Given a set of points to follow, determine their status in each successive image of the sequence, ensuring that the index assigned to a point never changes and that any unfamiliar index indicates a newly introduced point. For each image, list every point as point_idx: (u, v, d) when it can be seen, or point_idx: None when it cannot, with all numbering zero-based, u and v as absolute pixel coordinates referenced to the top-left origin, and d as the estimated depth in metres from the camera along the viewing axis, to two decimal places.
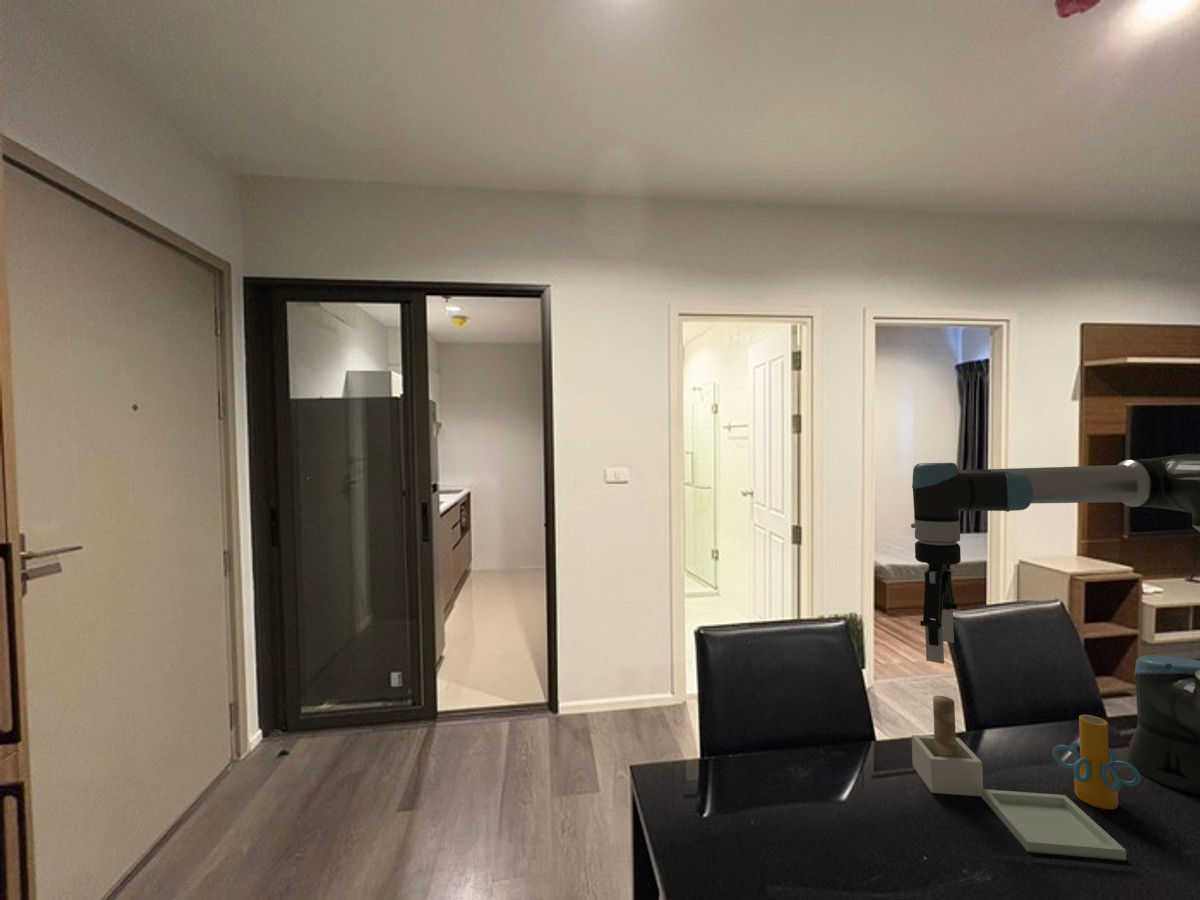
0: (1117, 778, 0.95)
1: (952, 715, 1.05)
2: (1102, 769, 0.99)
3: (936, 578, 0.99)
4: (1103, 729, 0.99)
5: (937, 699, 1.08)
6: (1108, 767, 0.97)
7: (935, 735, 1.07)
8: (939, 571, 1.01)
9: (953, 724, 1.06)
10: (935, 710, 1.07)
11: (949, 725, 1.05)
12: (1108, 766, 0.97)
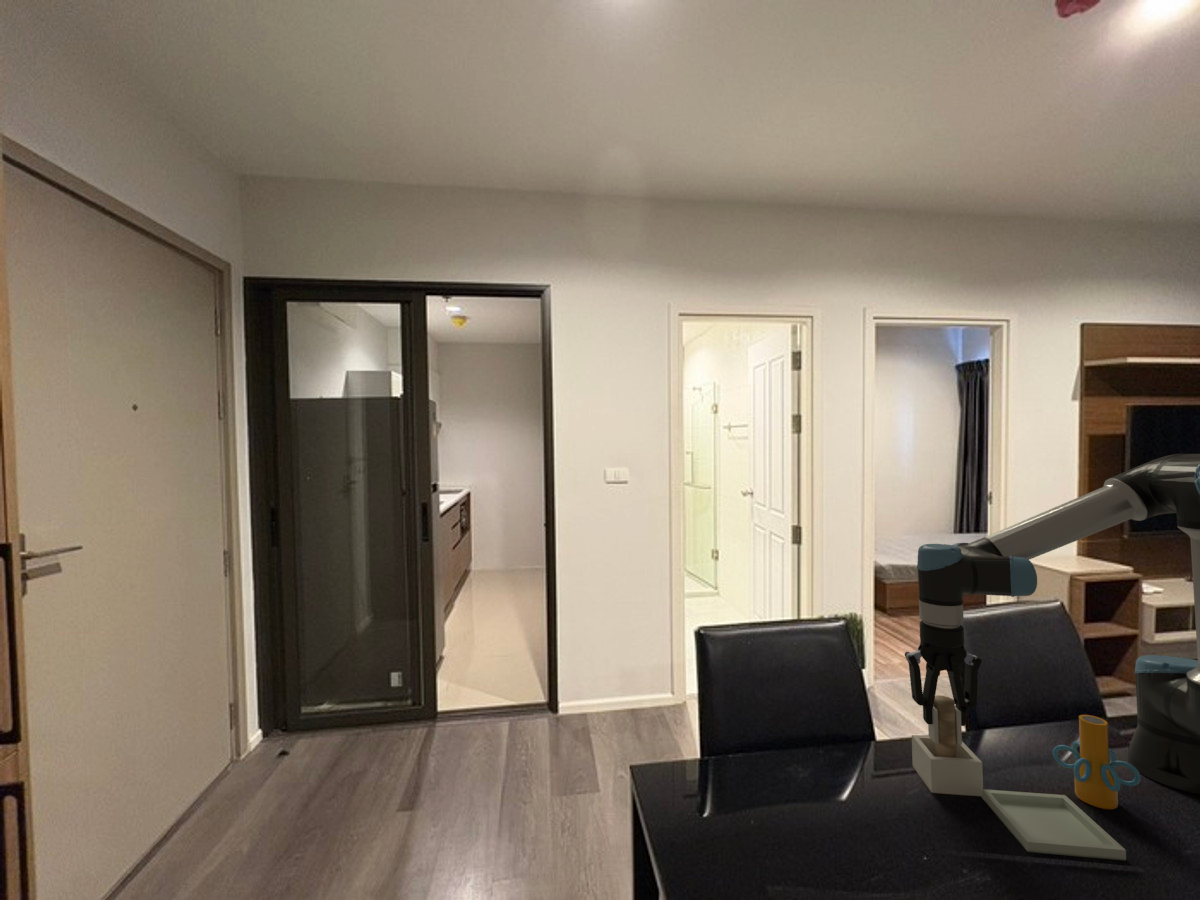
0: (1117, 778, 0.95)
1: (952, 715, 1.05)
2: (1102, 769, 0.99)
3: (909, 661, 1.08)
4: (1103, 729, 0.99)
5: (937, 698, 1.08)
6: (1108, 767, 0.97)
7: None
8: (921, 651, 1.07)
9: (953, 724, 1.06)
10: None
11: (949, 725, 1.05)
12: (1108, 766, 0.97)
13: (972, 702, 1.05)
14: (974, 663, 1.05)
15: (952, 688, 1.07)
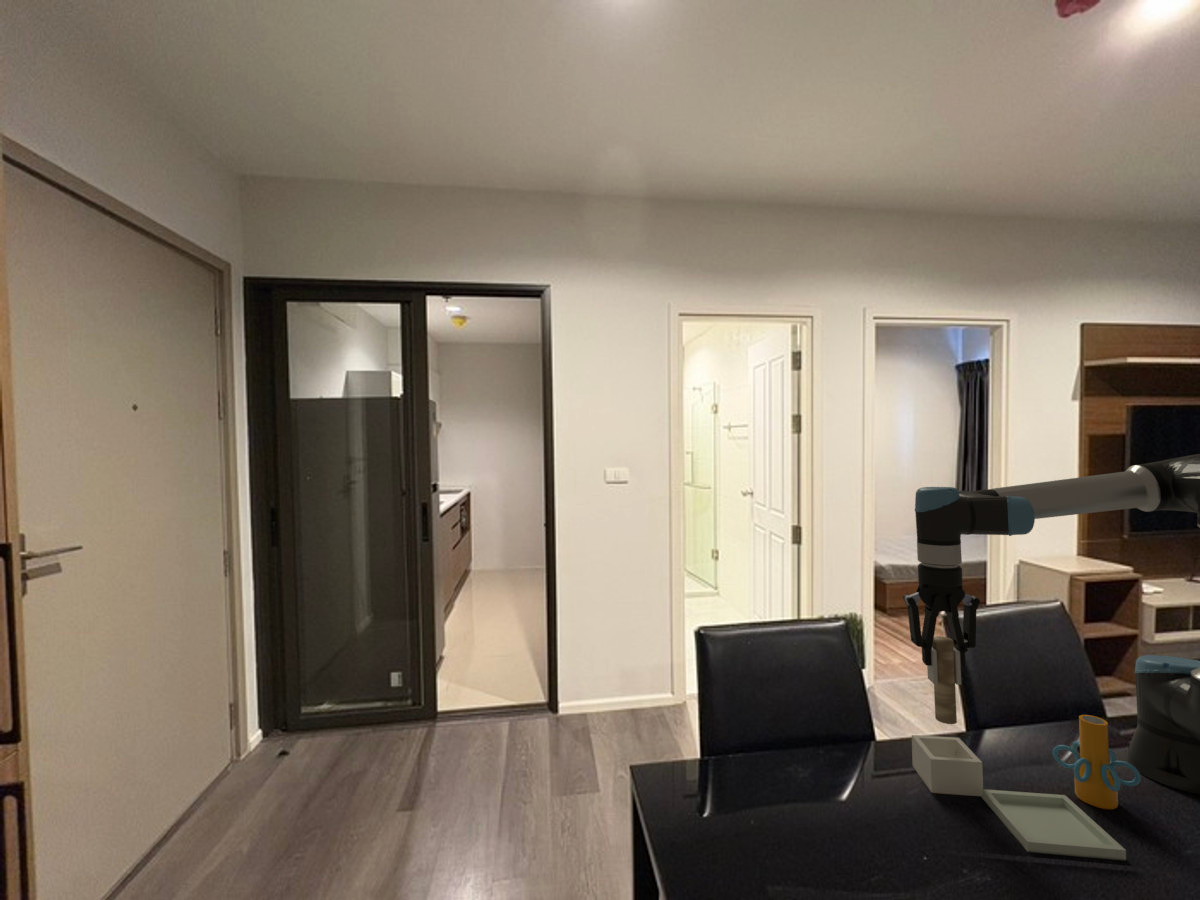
0: (1117, 778, 0.95)
1: (951, 654, 1.06)
2: (1102, 769, 0.99)
3: (908, 603, 1.08)
4: (1103, 729, 0.99)
5: (936, 638, 1.08)
6: (1108, 767, 0.97)
7: None
8: (919, 592, 1.07)
9: (952, 663, 1.06)
10: None
11: (948, 664, 1.05)
12: (1108, 766, 0.97)
13: (971, 642, 1.05)
14: (972, 603, 1.05)
15: (951, 629, 1.08)
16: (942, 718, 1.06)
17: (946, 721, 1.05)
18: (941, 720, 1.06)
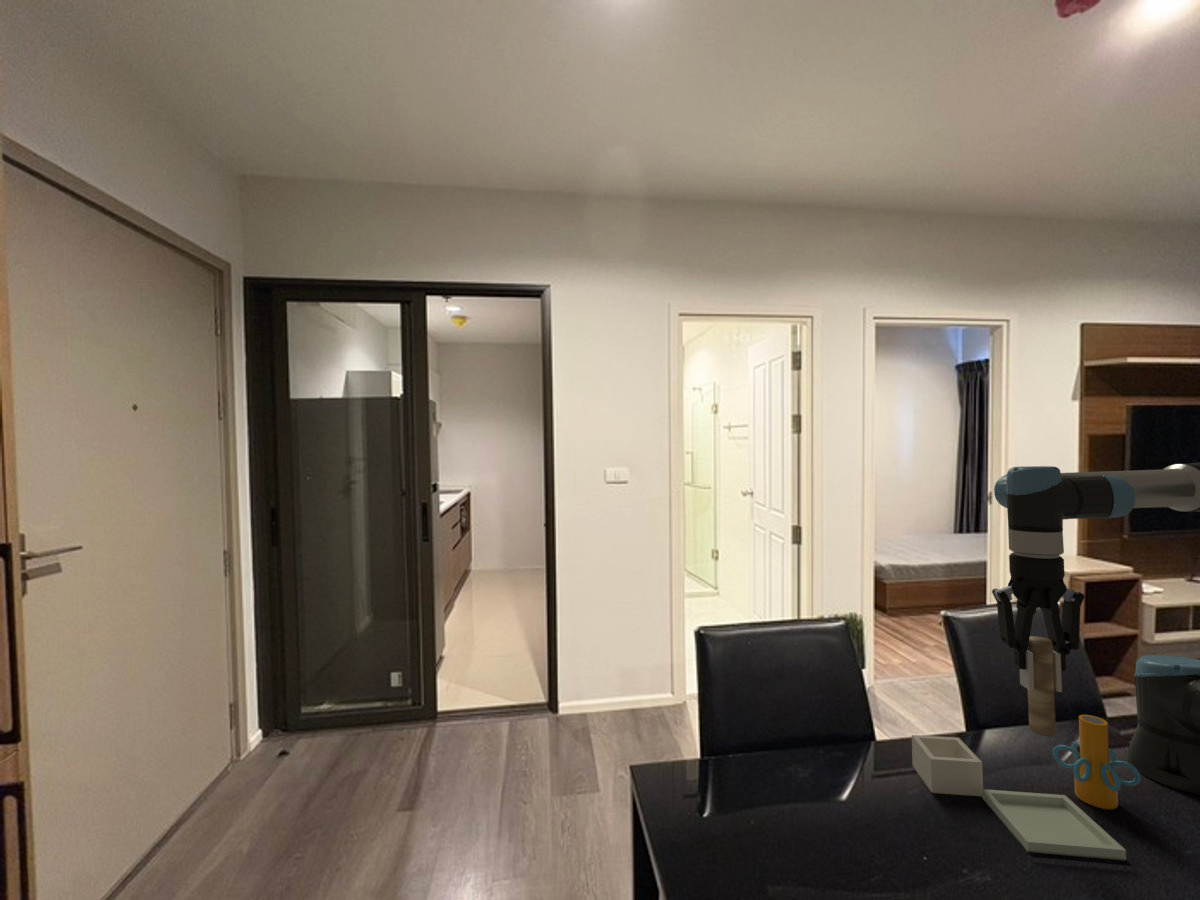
0: (1117, 778, 0.95)
1: (1050, 656, 0.92)
2: (1102, 769, 0.99)
3: (999, 598, 0.95)
4: (1103, 729, 0.99)
5: (1031, 639, 0.94)
6: (1108, 767, 0.97)
7: None
8: (1013, 586, 0.94)
9: (1051, 666, 0.92)
10: None
11: (1047, 668, 0.92)
12: (1108, 766, 0.97)
13: (1074, 643, 0.92)
14: (1076, 599, 0.92)
15: (1048, 629, 0.94)
16: (1039, 729, 0.93)
17: (1044, 733, 0.92)
18: (1038, 732, 0.93)
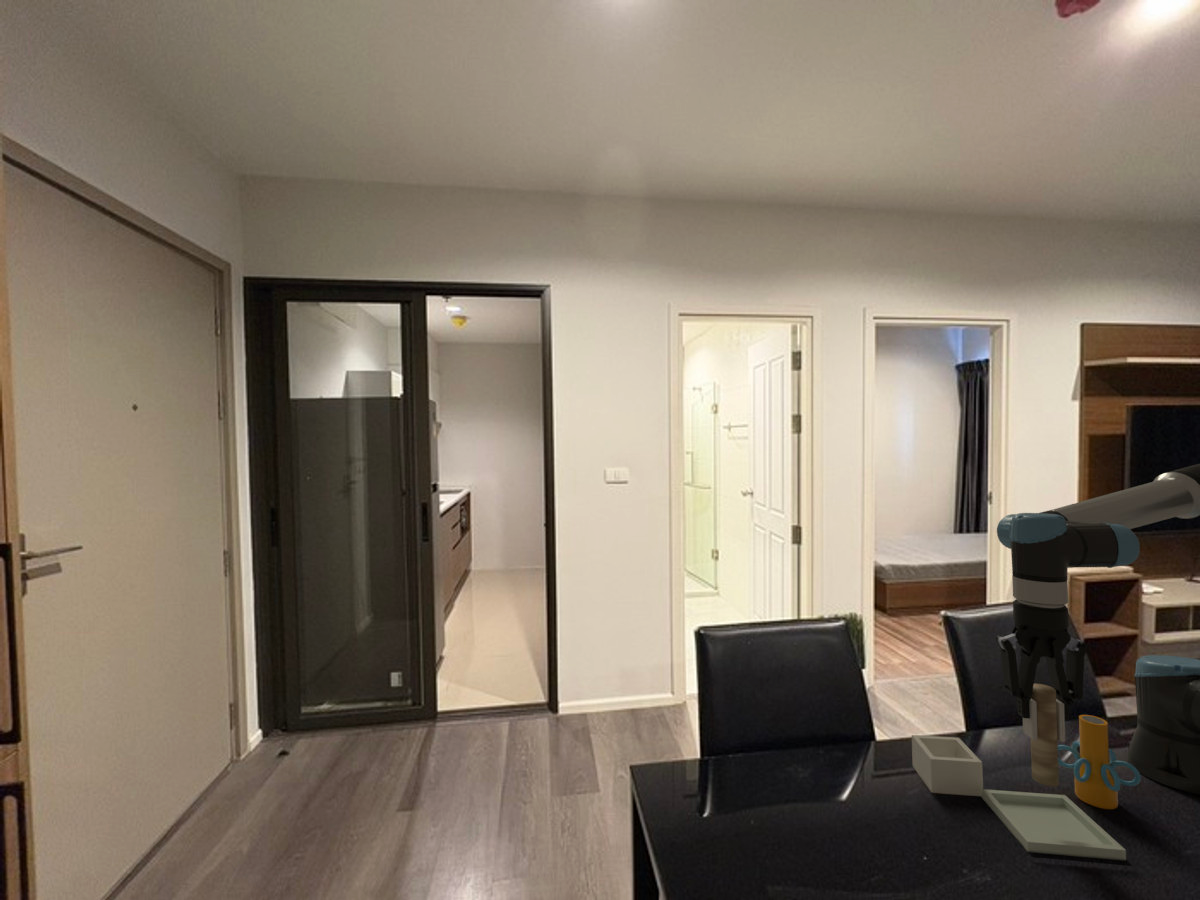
0: (1117, 778, 0.95)
1: (1054, 705, 0.92)
2: (1102, 769, 0.99)
3: (1003, 646, 0.94)
4: (1103, 729, 0.99)
5: (1034, 687, 0.94)
6: (1108, 767, 0.97)
7: None
8: (1017, 634, 0.94)
9: (1055, 716, 0.92)
10: None
11: (1051, 717, 0.92)
12: (1108, 766, 0.97)
13: (1077, 693, 0.92)
14: (1080, 648, 0.92)
15: (1052, 677, 0.94)
16: (1042, 779, 0.92)
17: (1047, 783, 0.92)
18: (1041, 781, 0.92)
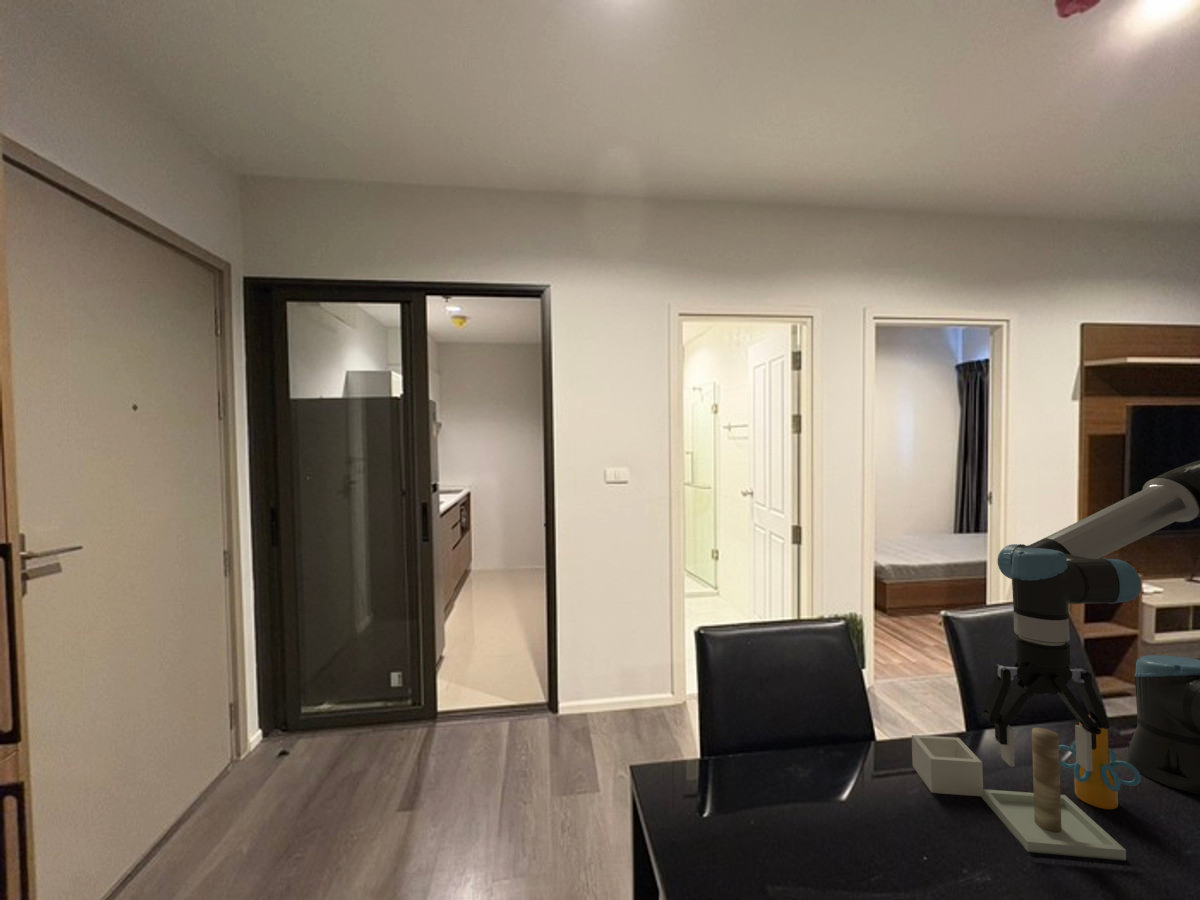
0: (1117, 778, 0.95)
1: (1057, 751, 0.92)
2: (1102, 769, 0.99)
3: (1001, 673, 0.94)
4: (1103, 729, 0.99)
5: (1037, 731, 0.94)
6: (1108, 767, 0.97)
7: (1035, 773, 0.93)
8: (1019, 668, 0.94)
9: (1058, 761, 0.92)
10: (1035, 745, 0.93)
11: (1054, 763, 0.92)
12: (1108, 766, 0.97)
13: (1103, 723, 0.91)
14: (1084, 679, 0.92)
15: (1071, 709, 0.93)
16: (1045, 825, 0.92)
17: (1050, 829, 0.92)
18: (1043, 827, 0.92)
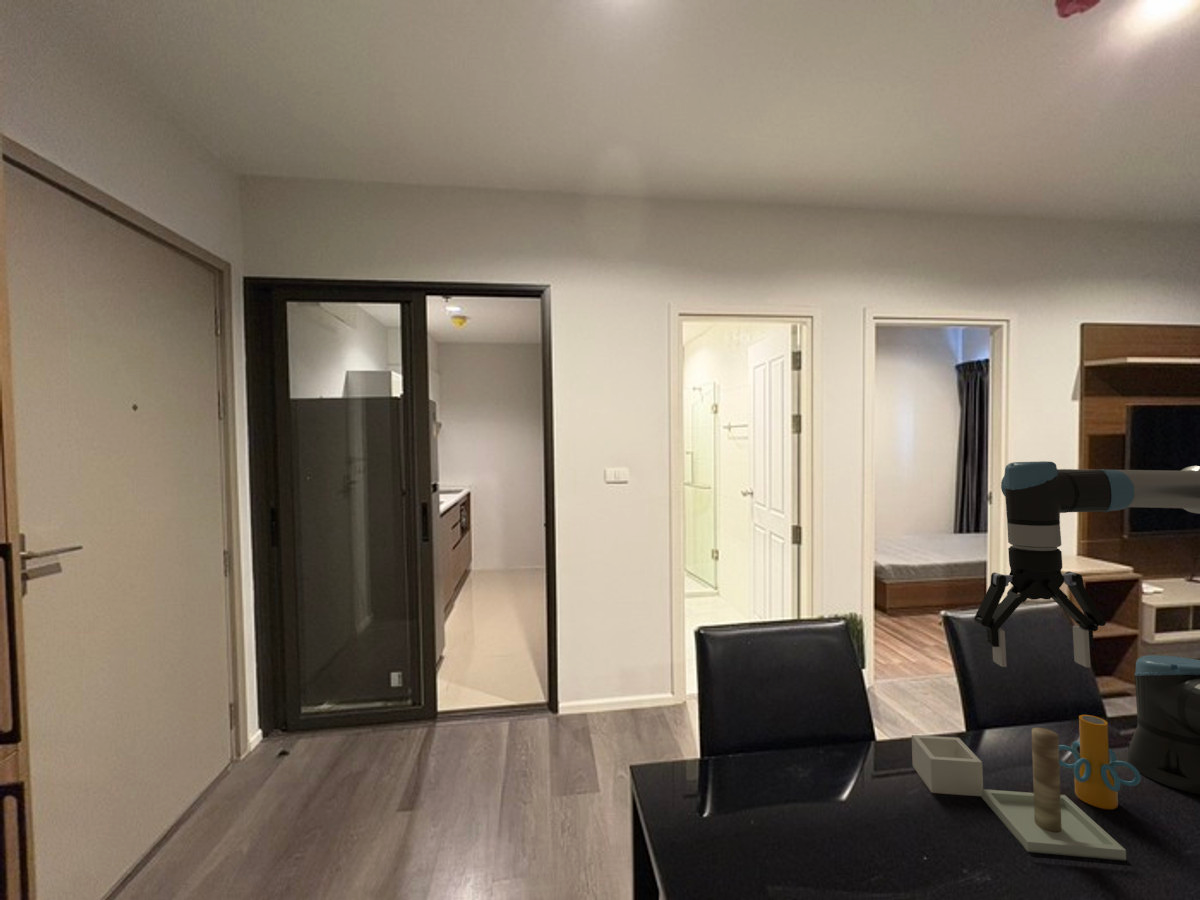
0: (1117, 778, 0.95)
1: (1056, 751, 0.92)
2: (1102, 769, 0.99)
3: (996, 580, 0.97)
4: (1103, 729, 0.99)
5: (1036, 731, 0.94)
6: (1108, 767, 0.97)
7: (1035, 773, 0.93)
8: (1015, 575, 0.97)
9: (1057, 761, 0.92)
10: (1035, 745, 0.93)
11: (1053, 763, 0.92)
12: (1108, 766, 0.97)
13: (1099, 620, 0.95)
14: (1076, 581, 0.95)
15: (1067, 612, 0.97)
16: (1045, 825, 0.92)
17: (1050, 829, 0.92)
18: (1043, 827, 0.92)
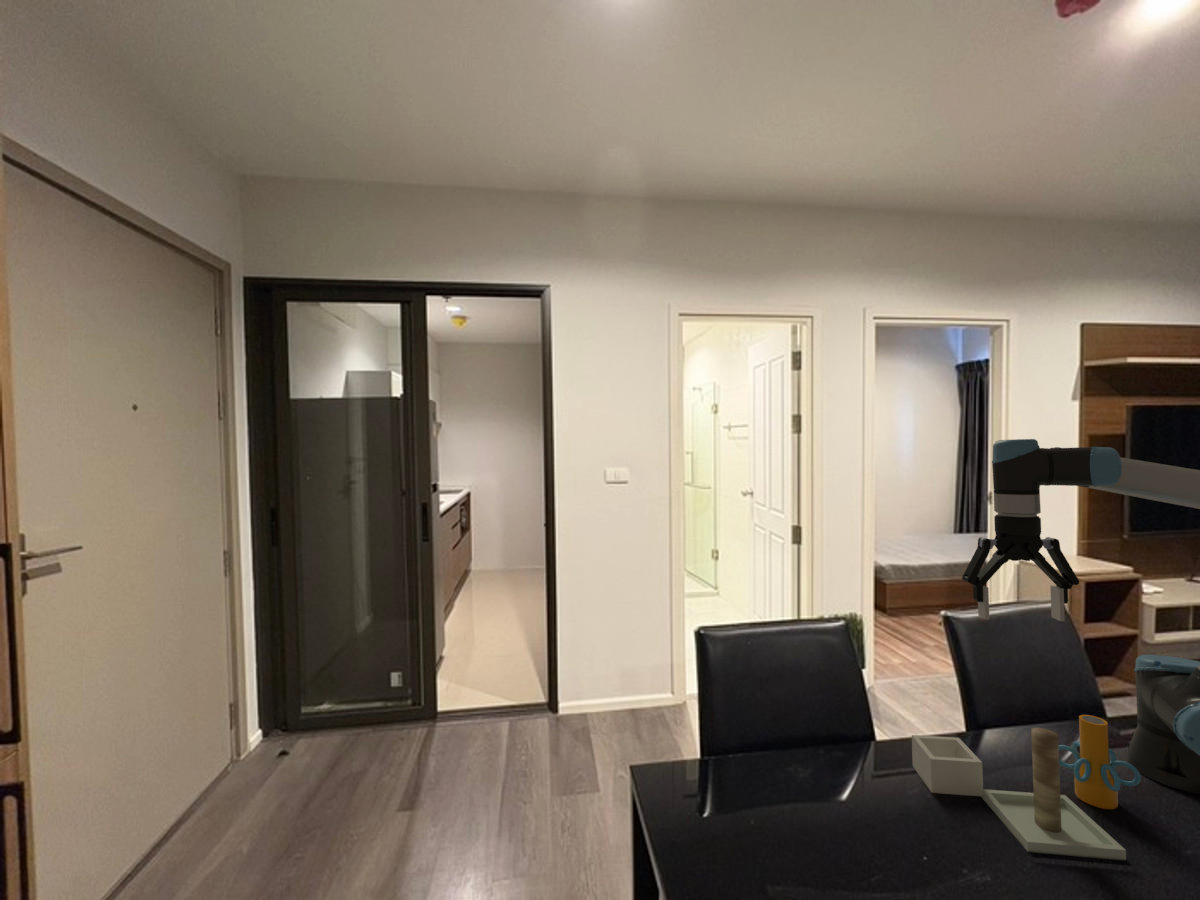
0: (1117, 778, 0.95)
1: (1056, 751, 0.92)
2: (1102, 769, 0.99)
3: (982, 543, 1.10)
4: (1103, 729, 0.99)
5: (1036, 731, 0.94)
6: (1108, 767, 0.97)
7: (1035, 773, 0.93)
8: (998, 539, 1.10)
9: (1057, 761, 0.92)
10: (1035, 745, 0.93)
11: (1053, 763, 0.92)
12: (1108, 766, 0.97)
13: (1073, 580, 1.07)
14: (1053, 545, 1.08)
15: (1046, 573, 1.09)
16: (1045, 825, 0.92)
17: (1050, 829, 0.92)
18: (1043, 827, 0.92)
